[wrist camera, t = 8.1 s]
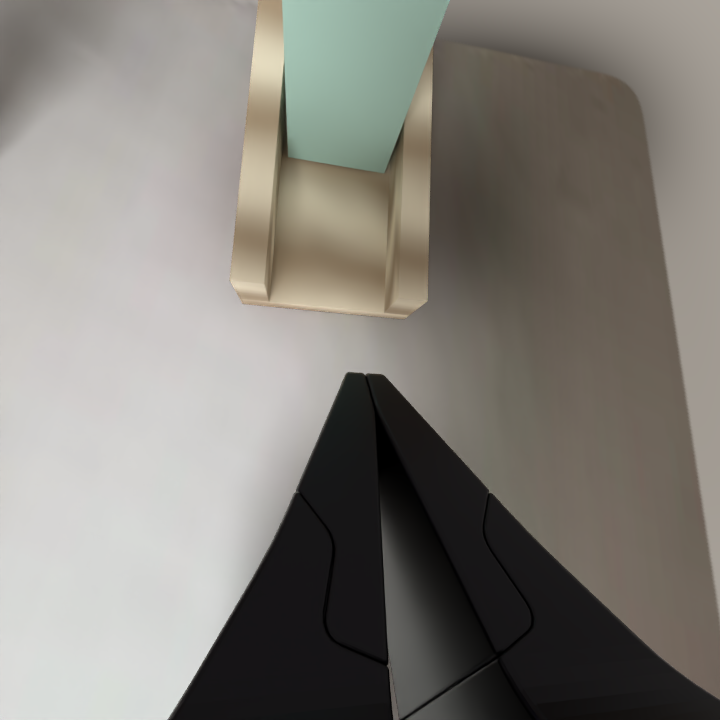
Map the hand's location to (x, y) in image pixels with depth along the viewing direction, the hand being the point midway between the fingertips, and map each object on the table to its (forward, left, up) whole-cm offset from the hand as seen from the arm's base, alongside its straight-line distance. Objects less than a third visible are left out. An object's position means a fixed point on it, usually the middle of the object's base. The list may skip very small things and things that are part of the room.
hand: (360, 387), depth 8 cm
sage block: (+13, -11, -12) cm, 21 cm away
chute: (+11, -9, -13) cm, 19 cm away
